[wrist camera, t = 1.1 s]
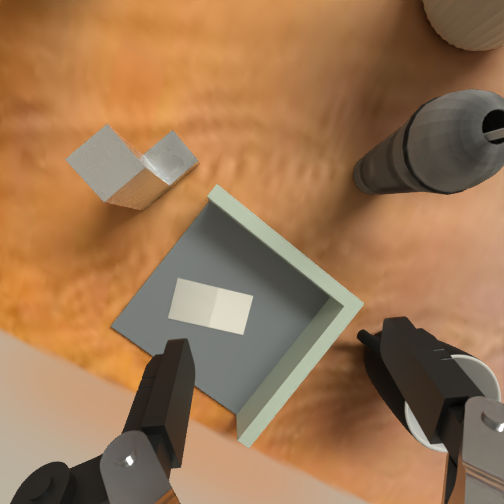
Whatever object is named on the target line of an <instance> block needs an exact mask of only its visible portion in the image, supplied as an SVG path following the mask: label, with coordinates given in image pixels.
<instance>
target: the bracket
mask: <svg viewBox="0 0 504 504" xmlns="http://www.w3.org/2000/svg"><path fill="white" fill-rule="evenodd" d="M65 160H66V161H67V162H68V163H69V164H70V165H71V166H72V167H73V169H74V170H75V171H76V172H77V173H78V174H79V175H80V176H81V177H82V178H83V180H84V181H85V182H86V183H87V184H88V185H89V186H90V187H91V188H92V189H93V191H94V192H95V193H96V194H97V195H98V196H99V197H100V198H101V199H102V200H103V202H106V203H110V204H115V205H119V206H124V207H128V208H132V209H137V210H141V211H144V210H145V209H146V208H148V207H149V206H150V205H151V204H152V203H153V202H155V201H156V200H157V199H158V198H159V197H161V196H162V195H163V194H164V193H165V192H166V191H168V190H169V189H170V188H171V187H172V186H173V185H175V184H176V183H177V182H178V181H179V180H180V179H182V178H183V177H184V176H185V175H186V174H188V173H189V172H190V171H191V170H192V169H193V168H195V167H196V166H197V165H198V164H199V161H198V159H197V158H196V157H195V156H194V155H193V154H192V152H191V151H190V150H189V149H188V148H187V146H186V145H185V144H184V143H183V142H182V141H181V139H180V138H179V137H178V136H177V135H176V133H175V132H174V131H173V130H172V131H171V132H170V133H168V134H167V135H166V136H165V137H164V138H163V139H161V140H160V141H159V142H158V143H157V144H155V145H154V146H153V147H152V148H151V149H150V150H148V151H147V152H146V153H145V154H144V155H142V154H141V153H140V152H139V151H138V150H137V149H136V148H134V147H133V146H132V145H131V144H130V143H129V142H128V141H126V140H125V139H124V138H123V137H122V136H121V135H120V134H118V133H117V132H116V131H115V130H114V129H113V128H112V127H111V126H109V125H108V124H106V125H105V126H104V127H103V128H102V129H101V130H99V131H98V132H97V133H96V134H95V135H93V136H92V137H91V138H90V139H89V140H88V141H86V142H85V143H84V144H83V145H82V146H80V147H79V148H78V149H77V150H76V151H75V152H73V153H72V154H71V155H70V156H69V157H67V158H66V159H65Z"/></svg>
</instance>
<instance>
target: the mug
mask: <svg viewBox="0 0 504 504" xmlns="http://www.w3.org/2000/svg"><path fill="white" fill-rule="evenodd" d="M381 336H382V331H381V332H379V333H377V334H376V335H374V336H373V335H371V334H370V333H368V332H367V331H366V330H364V329H363V330H360V331H359V332H358V334H357V338H358V340H359V341H361V342H362V343H363V344H364V345H365V346H366V349H365V353H364V362H365V367H366V371H367V373H368V375H369V377H370V379H371V381H372V383H373V385H374V386H375V388H376V390H377V391H378V393H379V394H380V396H381V397H382V399H383V400H384V401H385V403H386V404H387V405H388V407H389V408H390V409H391V411H392V412H393V413H394V415H395V416H396V417H397V418H398V420H399V421H400V422H401V423H402V425H403V426H404V427H405V428H406V429H407V430H408V432H409V433H410V434H411V435H412V436H413V437H414V438H415V439H416V440H417V441H418V442H420V443H421V444H422V445H424V446H425V447H427V448H429V449H432V450H435V451H439V452H448V451H447V449H446V448H445V446H444V444H443V443H441V444H431V445H430V443H429V441H428V440H427V438H426V436H425V434H424V432H423V431H422V429H421V427H420V425H419V424H418V422H417V420H416V418H415V417H414V415H413V413H412V411H411V409H410V408H409V406H408V404H407V402H406V401H405V399H404V397H403V395H402V393H401V392H400V390H399V388H398V386H397V385H396V383H395V381H394V379H393V378H392V376H391V374H390V372H389V370H388V369H387V367H386V365H385V363H384V361H383V359H382V356H381V352H380V343H381ZM438 341H439V340H438ZM439 342H440V343H441V345H442V346H443V347H444V349H445V350H446V351H447V352H448V353H449V354H450V355H451V356H452V359H453V360H455V361H456V362H457V363H458V365H459V366H460V367H461V368H462V369H463V371H464V372H465V373H466V374H467V375H468V376H469V378H470V379H471V380H472V381H473V382H474V384H475V385H476V386H477V387H478V388H479V389H480V391H481V392H482V393H483V394H484V395H485V396H486V397H488V398H491V399H494V400H497V401H499V402H501V393H500V388H499V384H498V381H497V379H496V377H495V375H494V373H493V372H492V371H491V369H490V368H489V367H488V366H487V365H486V364H485V363H483V362H482V361H480V360H479V359H477V358H476V357H474V356H472V355H470V354H468V353H466V352H464V351H462V350H460V349H458V348H456V347H453V346H451V345H449V344H446V343H444V342H442V341H439Z"/></svg>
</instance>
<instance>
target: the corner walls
mask: <svg viewBox="0 0 504 504" xmlns="http://www.w3.org/2000/svg"><path fill="white" fill-rule="evenodd" d="M207 197H208V199H209V200H210V201H211V202H212V203H213V204H215V205H216V206H217V207H218V208H220V209H221V210H222V211H223V212H225V213H226V214H227V215H228V216H230V217H231V218H232V219H233V220H235V221H236V222H237V223H238V224H240V225H241V226H242V227H243V228H245V229H246V230H247V231H248V232H250V233H251V234H252V235H253V236H255V237H256V238H257V239H258V240H260V241H261V242H262V243H263V244H265V245H266V246H267V247H268V248H270V249H271V250H272V251H273V252H275V253H276V254H277V255H278V256H280V257H281V258H282V259H283V260H285V261H286V262H287V263H288V264H290V265H291V266H292V267H293V268H295V269H296V270H297V271H298V272H300V273H301V274H302V275H303V276H305V277H306V278H307V279H308V280H310V281H311V282H312V283H313V284H315V285H316V286H317V287H318V288H320V289H321V290H322V291H323V292H325V293H326V294H327V295H328V296H330V298H329V299H328V300H327V302H326V303H325V304H324V305H323V307H322V308H321V309H320V310H319V312H318V313H317V314H316V315H315V317H314V318H313V319H312V320H311V322H310V323H309V324H308V325H307V327H306V328H305V329H304V331H303V332H302V333H301V334H300V336H299V337H298V338H297V339H296V341H295V342H294V343H293V344H292V346H291V347H290V348H289V349H288V351H287V352H286V353H285V354H284V356H283V357H282V358H281V359H280V361H279V362H278V363H277V364H276V366H275V367H274V368H273V369H272V371H271V372H270V373H269V374H268V376H267V377H266V378H265V379H264V381H263V382H262V383H261V384H260V386H259V387H258V388H257V389H256V391H255V392H254V393H253V395H252V396H251V397H250V398H249V400H248V401H247V402H246V403H245V405H244V406H243V407H242V408H241V410H240V411H239V412H238V413H237V415H236V419H237V441H239V442H240V443H242V444H243V445H245V446H246V447H248V448H250V446H251V445H252V444H253V443H254V441H255V440H256V439H257V438H258V436H259V435H260V434H261V433H262V431H263V430H264V429H265V428H266V426H267V425H268V424H269V423H270V421H271V420H272V419H273V418H274V416H275V415H276V414H277V413H278V411H279V410H280V409H281V408H282V406H283V405H284V404H285V403H286V401H287V400H288V399H289V398H290V396H291V395H292V394H293V393H294V391H295V390H296V389H297V388H298V386H299V385H300V384H301V383H302V381H303V380H304V379H305V378H306V376H307V375H308V374H309V373H310V371H311V370H312V369H313V368H314V366H315V365H316V364H317V363H318V361H319V360H320V359H321V358H322V356H323V355H324V354H325V353H326V351H327V350H328V349H329V348H330V346H331V345H332V344H333V343H334V341H335V340H336V339H337V338H338V336H339V335H340V334H341V333H342V331H343V330H344V329H345V328H346V326H347V325H348V324H349V323H350V321H351V320H352V319H353V318H354V316H355V315H356V314H357V312H358V311H359V310H360V309H361V307H362V306H363V305H364V303H363V302H362V301H361V300H359V299H358V298H357V297H356V296H354V295H353V294H352V293H351V292H350V291H348V290H347V289H346V288H345V287H343V286H342V285H341V284H340V283H338V282H337V281H336V280H335V279H334V278H332V277H331V276H330V275H329V274H327V273H326V272H325V271H324V270H322V269H321V268H320V267H319V266H318V265H316V264H315V263H314V262H313V261H311V260H310V259H309V258H308V257H306V256H305V255H304V254H303V253H301V252H300V251H299V250H298V249H297V248H295V247H294V246H293V245H292V244H290V243H289V242H288V241H287V240H285V239H284V238H283V237H282V236H281V235H279V234H278V233H277V232H276V231H274V230H273V229H272V228H271V227H269V226H268V225H267V224H266V223H264V222H263V221H262V220H261V219H260V218H258V217H257V216H256V215H255V214H253V213H252V212H251V211H250V210H248V209H247V208H246V207H245V206H244V205H242V204H241V203H240V202H239V201H237V200H236V199H235V198H234V197H232V196H231V195H230V194H229V193H227V192H226V191H225V190H224V189H223V188H221V187H220V186H219V185H218V184H217V185H216V186H215V187H214V188H213V190H212V191H211V192H210V193H209V195H208V196H207Z"/></svg>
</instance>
